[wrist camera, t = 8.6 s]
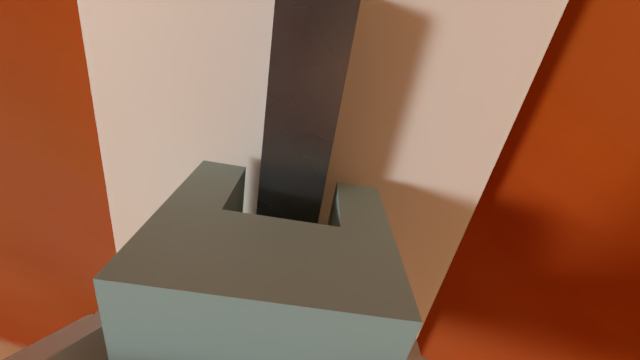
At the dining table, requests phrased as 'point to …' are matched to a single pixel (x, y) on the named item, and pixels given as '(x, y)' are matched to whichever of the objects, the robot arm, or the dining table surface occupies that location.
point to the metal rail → (303, 103)
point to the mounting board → (354, 115)
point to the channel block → (257, 280)
